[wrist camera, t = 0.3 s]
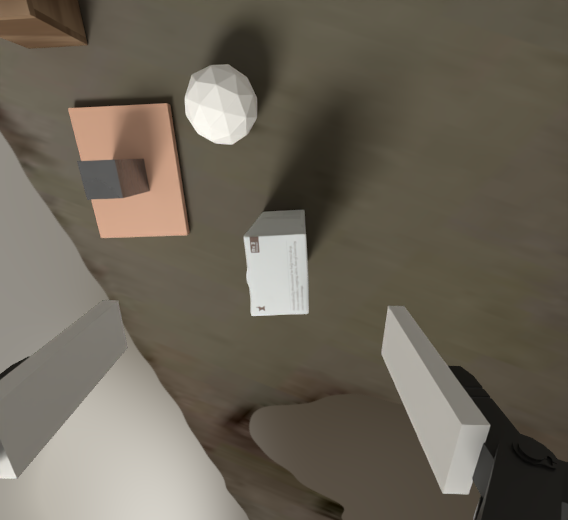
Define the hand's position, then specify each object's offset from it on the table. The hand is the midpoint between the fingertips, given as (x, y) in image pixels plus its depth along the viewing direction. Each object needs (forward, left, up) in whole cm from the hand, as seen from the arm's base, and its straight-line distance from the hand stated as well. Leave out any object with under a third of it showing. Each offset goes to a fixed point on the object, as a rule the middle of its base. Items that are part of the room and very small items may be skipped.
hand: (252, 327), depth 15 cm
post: (-6, -18, -27) cm, 33 cm away
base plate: (-6, -18, -27) cm, 33 cm away
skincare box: (+3, +1, -27) cm, 28 cm away
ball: (-13, -5, -27) cm, 31 cm away
